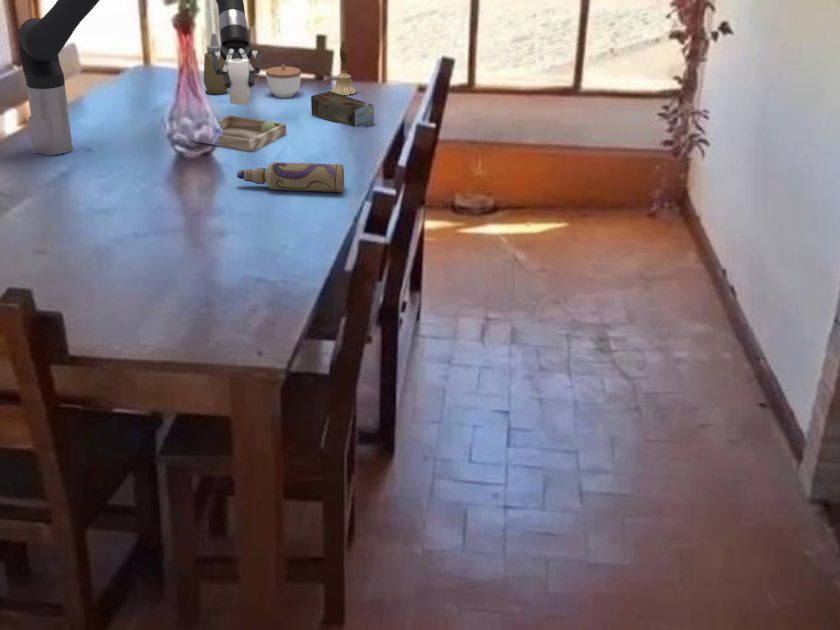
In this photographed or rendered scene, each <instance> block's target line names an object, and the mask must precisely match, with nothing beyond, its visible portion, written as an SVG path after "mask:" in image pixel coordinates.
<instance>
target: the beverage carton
mask: <svg viewBox="0 0 840 630" xmlns="http://www.w3.org/2000/svg"><path fill="white" fill-rule="evenodd" d="M310 103H311V107H310V108H311V115H312V116H314V117H316V118H321V119H323V120H326V121H330V122H333V123H335V124H341V125H349V126H350V127H351V126H352V127H354V128H355V127H361V126H364V125H368V124H371V125H373V124H372V123H374V121H375V120H374V119H375V116H374V115H375V114H374V104H371V103H368V102H365V101H362V100H359V99H355V98H353V97H350V96H348V95H346V96H344V95H340V94H338V93H334V92H331V91H330V90H329V91H327V92H321V93H318V94H313V95H311V97H310ZM368 126H369V125H368ZM364 127H365V126H364Z"/></svg>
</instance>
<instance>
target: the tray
mask: <svg viewBox="0 0 840 630" xmlns="http://www.w3.org/2000/svg"><path fill="white" fill-rule="evenodd" d="M217 121H218V123H219V124H220V127H221V129H222V130H223V135H219V137H218V146H217V147H219V148H220V147H221V148H227V149H232V150H238V151H239V150H240V151H245V152H251V153H254V152H256V151H257V150H259V149H261V148H263V147H265V146H267V145H269V144H270V143H272V142H274V141H276V140H278V139H280V138H282V137H283V136H286V135H287V123H283V122H276V121H272V122H273V123H274V124H275V126H276V127H275V128H273V129H271V130H269V131H267V132H265V133H263V132H262V130H261V126H262V124H263V123H264V122H266V121H267V120H263V119H258V118H257V119H256V118H249V117H243V116H237V115H236V116H235V115H230V114H229V115H228V116H225V117H223V118H221V119H218V120H217Z"/></svg>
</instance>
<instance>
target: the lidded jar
mask: <svg viewBox="0 0 840 630" xmlns="http://www.w3.org/2000/svg"><path fill="white" fill-rule="evenodd" d="M265 74H266V75H265V76H266V83H267V86H268V87H267V88H268V89H269V91H270V93H272V94H273V95H274V97H276V98H285V99H286V98H292V97H294V95H295V94H296V93H297V92H298V90H299V88H300V85H301V78H302V77H301V75H302V71H301V69H300V68H297V67H294V66H286V65H285V64H281V66H275V67H270V68H268V69H266V70H265Z"/></svg>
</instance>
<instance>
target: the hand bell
mask: <svg viewBox="0 0 840 630" xmlns="http://www.w3.org/2000/svg"><path fill="white" fill-rule="evenodd" d="M339 56H340V60H341V61H340V62H341V70H340V71H341V72H340V73H339V74H337V76H336V81H335V82H336V83H335V84H334V87H333V88H332V90H331V91H330V92H334V93H338V94H340V95H346V96H351V95H350V94H354V93H356V92H357V93H358V90H357V89H356V88H355V87H354V84H353V81H352V76H351V75H350V74H349V73H348V70H347V65H348V64H347V63H348V59H349V58H348V57H349V49H348V44H347V41H341V45H340V48H339ZM357 93H356V94H357ZM354 95H355V94H354Z"/></svg>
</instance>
